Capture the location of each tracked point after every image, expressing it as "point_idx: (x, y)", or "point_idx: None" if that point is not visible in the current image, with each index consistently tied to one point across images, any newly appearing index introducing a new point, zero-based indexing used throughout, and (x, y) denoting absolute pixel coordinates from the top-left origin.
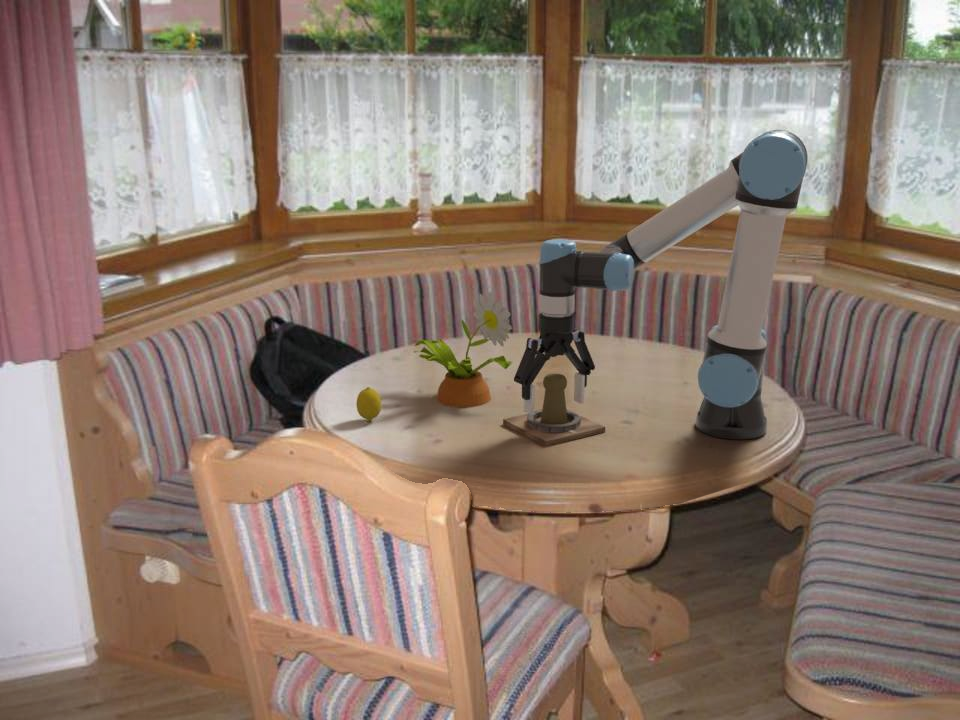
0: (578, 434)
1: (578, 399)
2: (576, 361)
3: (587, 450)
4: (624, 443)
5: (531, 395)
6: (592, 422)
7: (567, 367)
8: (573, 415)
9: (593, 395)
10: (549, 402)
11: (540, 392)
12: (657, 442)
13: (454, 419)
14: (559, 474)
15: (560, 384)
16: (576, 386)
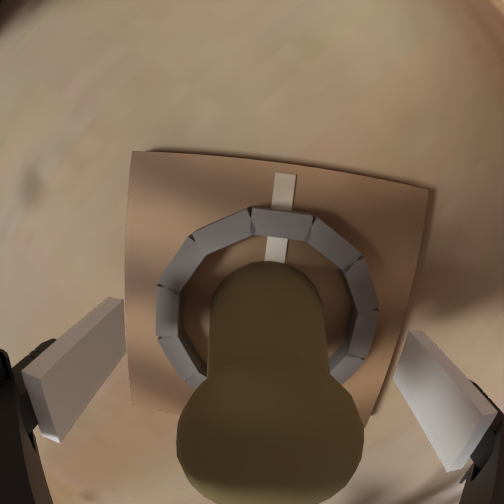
0: (274, 162)
1: (118, 328)
2: (23, 492)
3: (332, 64)
4: (175, 35)
5: (468, 382)
6: (136, 220)
7: None
8: (179, 292)
9: None
10: (326, 354)
11: (110, 482)
12: (98, 4)
13: (402, 476)
14: (493, 38)
15: (305, 382)
16: (91, 378)
